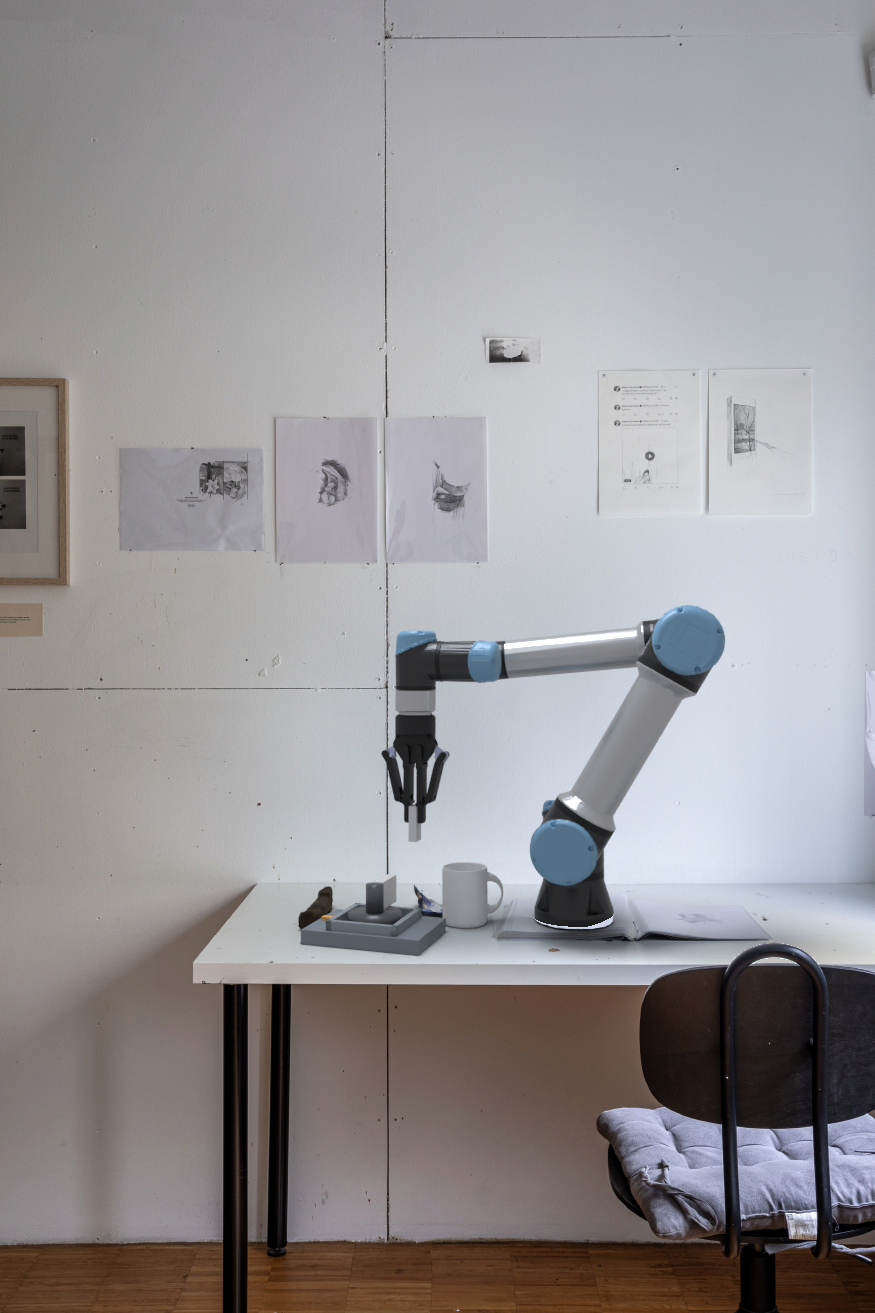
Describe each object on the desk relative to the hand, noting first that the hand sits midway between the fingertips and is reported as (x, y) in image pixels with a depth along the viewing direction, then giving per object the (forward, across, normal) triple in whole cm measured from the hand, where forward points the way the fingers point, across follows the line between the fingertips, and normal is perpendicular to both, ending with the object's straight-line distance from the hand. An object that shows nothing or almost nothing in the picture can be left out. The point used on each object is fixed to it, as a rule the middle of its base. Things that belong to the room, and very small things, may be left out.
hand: (414, 840), depth 174 cm
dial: (+14, +5, +5) cm, 16 cm away
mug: (+17, -9, -8) cm, 21 cm away
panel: (+17, +5, +7) cm, 19 cm away
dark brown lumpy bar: (+17, +21, -2) cm, 27 cm away
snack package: (+17, 0, -14) cm, 22 cm away
